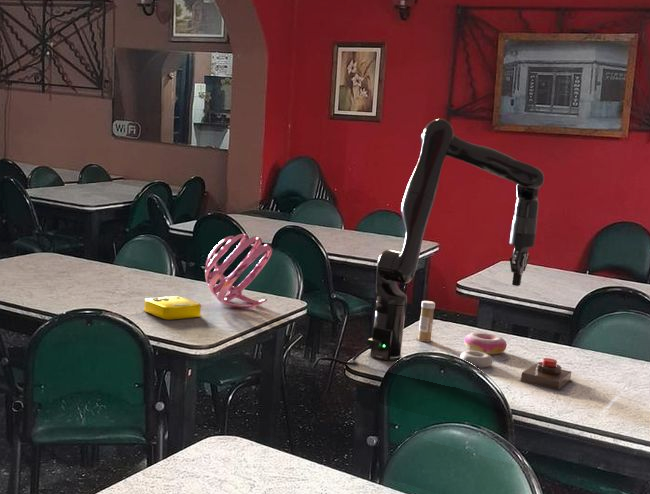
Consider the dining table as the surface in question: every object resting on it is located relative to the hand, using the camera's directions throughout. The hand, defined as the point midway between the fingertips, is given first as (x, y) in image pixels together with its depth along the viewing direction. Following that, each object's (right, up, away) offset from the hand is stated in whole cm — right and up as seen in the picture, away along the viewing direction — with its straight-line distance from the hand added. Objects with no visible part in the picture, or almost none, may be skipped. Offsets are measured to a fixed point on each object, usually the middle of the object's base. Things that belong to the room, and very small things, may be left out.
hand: (516, 285), depth 268 cm
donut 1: (-6, -22, +16) cm, 28 cm away
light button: (+7, -24, -13) cm, 28 cm away
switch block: (+5, -28, -13) cm, 32 cm away
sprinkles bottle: (-25, -19, +23) cm, 39 cm away
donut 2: (-13, -25, -2) cm, 28 cm away
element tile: (-112, -11, +28) cm, 116 cm away
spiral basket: (-92, -8, +53) cm, 106 cm away
